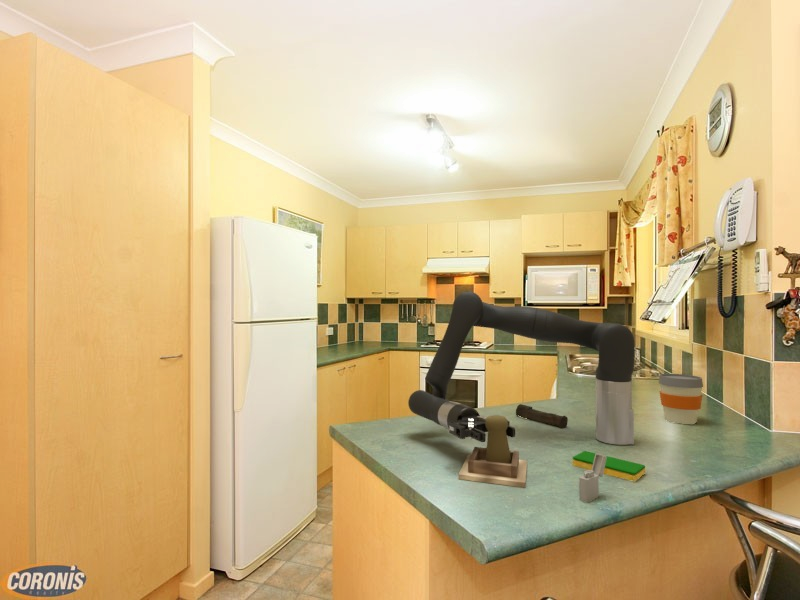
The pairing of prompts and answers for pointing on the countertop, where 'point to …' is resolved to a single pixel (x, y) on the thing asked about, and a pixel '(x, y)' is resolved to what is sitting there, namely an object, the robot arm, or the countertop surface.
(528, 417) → the hand tool
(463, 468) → the shaker stand
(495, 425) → the cork
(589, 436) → the countertop surface
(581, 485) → the lighter
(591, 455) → the dish sponge
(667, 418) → the reusable coffee cup
